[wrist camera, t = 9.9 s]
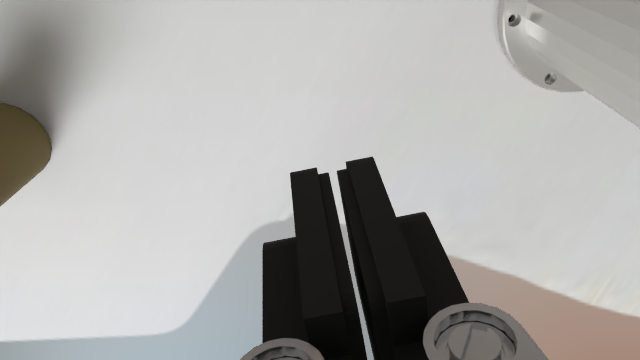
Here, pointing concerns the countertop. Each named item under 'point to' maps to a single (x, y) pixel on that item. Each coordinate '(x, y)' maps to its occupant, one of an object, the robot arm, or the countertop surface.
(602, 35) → the robot arm
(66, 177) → the countertop surface
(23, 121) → the cork
